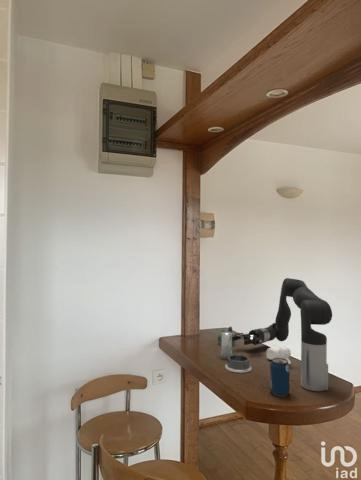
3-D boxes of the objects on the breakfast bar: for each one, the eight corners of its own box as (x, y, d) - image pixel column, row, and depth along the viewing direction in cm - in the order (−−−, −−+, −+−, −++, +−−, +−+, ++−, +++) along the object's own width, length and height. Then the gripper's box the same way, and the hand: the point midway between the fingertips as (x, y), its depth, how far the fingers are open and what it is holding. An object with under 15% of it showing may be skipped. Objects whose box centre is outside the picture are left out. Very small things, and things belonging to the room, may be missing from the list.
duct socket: (250, 364, 160) (250, 354, 160) (252, 373, 148) (252, 363, 148) (224, 363, 161) (225, 353, 161) (225, 372, 150) (225, 361, 150)
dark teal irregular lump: (231, 342, 197) (231, 326, 197) (236, 346, 188) (236, 330, 188) (216, 342, 195) (216, 326, 196) (220, 347, 186) (220, 330, 187)
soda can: (293, 394, 128) (293, 361, 128) (280, 398, 124) (280, 364, 125) (278, 387, 134) (279, 356, 134) (265, 391, 130) (266, 359, 130)
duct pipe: (231, 356, 171) (231, 331, 172) (231, 359, 166) (232, 334, 167) (221, 355, 172) (221, 331, 172) (221, 359, 167) (221, 333, 167)
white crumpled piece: (265, 366, 167) (280, 364, 154) (262, 347, 170) (277, 344, 157) (281, 365, 169) (298, 362, 156) (278, 346, 172) (294, 343, 159)
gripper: (248, 326, 190) (227, 330, 180) (270, 331, 179) (249, 336, 169) (248, 340, 190) (227, 345, 180) (270, 346, 178) (248, 351, 168)
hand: (238, 340), depth 174 cm, fingers open, 8 cm apart
